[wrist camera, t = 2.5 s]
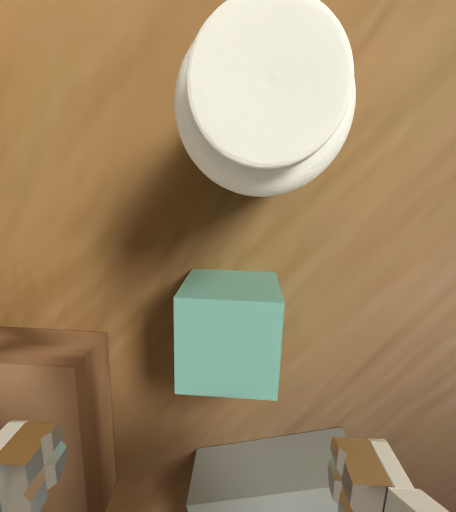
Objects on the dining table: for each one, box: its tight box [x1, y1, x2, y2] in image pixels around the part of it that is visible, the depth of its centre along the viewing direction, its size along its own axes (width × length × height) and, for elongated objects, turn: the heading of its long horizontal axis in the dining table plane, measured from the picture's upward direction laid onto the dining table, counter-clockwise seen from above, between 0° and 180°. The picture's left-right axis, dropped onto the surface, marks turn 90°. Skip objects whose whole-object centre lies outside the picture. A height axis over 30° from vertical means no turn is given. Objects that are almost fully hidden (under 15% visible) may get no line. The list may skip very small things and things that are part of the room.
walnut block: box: [0, 327, 117, 512], centre depth 20 cm, size 12×12×4 cm
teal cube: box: [174, 269, 285, 401], centre depth 17 cm, size 5×5×5 cm
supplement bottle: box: [174, 0, 356, 197], centre depth 12 cm, size 6×6×10 cm
